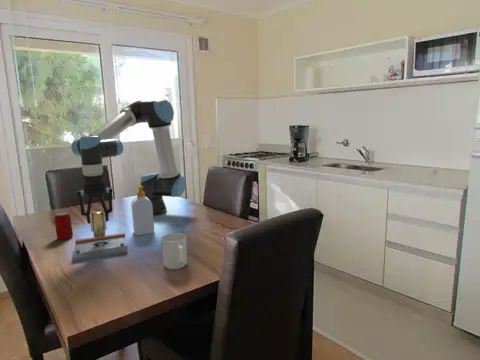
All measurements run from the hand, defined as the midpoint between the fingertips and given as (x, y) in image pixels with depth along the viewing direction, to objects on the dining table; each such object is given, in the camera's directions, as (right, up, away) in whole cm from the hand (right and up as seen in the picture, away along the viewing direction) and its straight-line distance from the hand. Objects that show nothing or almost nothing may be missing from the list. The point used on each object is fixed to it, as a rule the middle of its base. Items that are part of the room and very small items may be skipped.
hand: (99, 229), depth 138 cm
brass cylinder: (0, -3, +1) cm, 3 cm away
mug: (+35, -12, -15) cm, 40 cm away
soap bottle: (+12, -5, +23) cm, 27 cm away
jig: (0, -9, +2) cm, 9 cm away
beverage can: (-24, -7, +18) cm, 30 cm away
